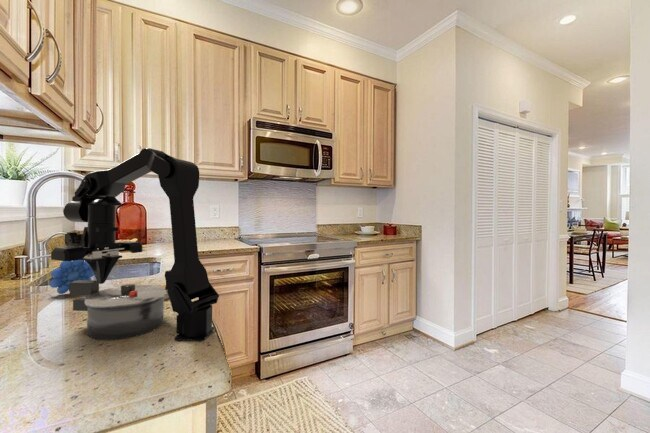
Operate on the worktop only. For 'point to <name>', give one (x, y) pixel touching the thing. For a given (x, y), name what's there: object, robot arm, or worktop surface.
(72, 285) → the cooker lid
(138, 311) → the cooker pot
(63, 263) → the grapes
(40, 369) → the worktop surface
